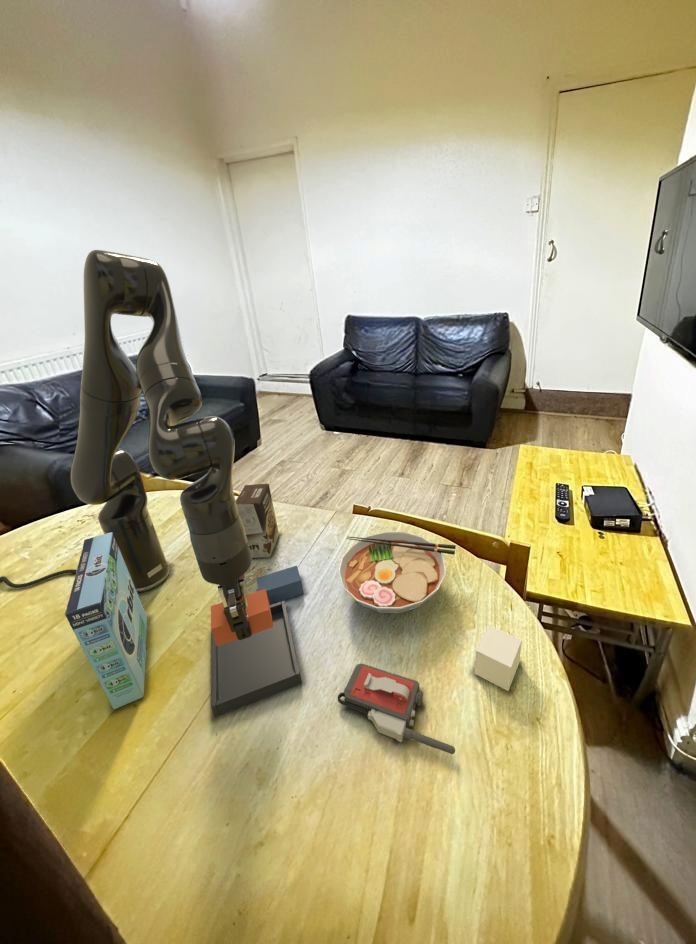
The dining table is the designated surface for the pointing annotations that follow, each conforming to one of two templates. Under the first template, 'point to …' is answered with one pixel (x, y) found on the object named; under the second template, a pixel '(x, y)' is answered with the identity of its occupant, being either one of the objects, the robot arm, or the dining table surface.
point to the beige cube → (498, 657)
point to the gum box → (109, 620)
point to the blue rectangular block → (281, 584)
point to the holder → (254, 665)
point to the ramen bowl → (393, 571)
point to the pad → (255, 610)
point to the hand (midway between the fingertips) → (243, 623)
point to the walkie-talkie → (387, 703)
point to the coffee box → (258, 519)
